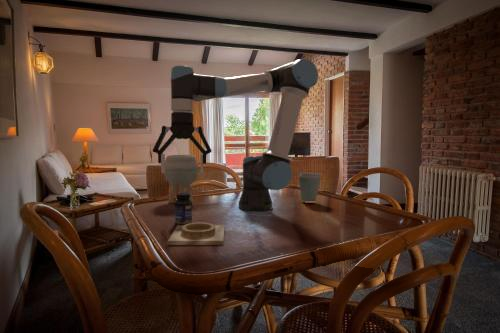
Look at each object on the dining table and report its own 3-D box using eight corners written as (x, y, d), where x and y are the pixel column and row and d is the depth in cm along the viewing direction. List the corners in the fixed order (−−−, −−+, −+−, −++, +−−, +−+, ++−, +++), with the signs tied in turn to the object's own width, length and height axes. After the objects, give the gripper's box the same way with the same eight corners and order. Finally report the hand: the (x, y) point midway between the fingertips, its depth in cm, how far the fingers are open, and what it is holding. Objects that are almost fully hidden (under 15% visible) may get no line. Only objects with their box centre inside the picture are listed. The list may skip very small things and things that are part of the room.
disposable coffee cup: (297, 200, 158) (298, 170, 157) (319, 201, 157) (320, 171, 156) (298, 204, 148) (299, 173, 146) (321, 205, 146) (322, 173, 145)
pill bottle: (187, 227, 109) (187, 195, 108) (171, 225, 110) (171, 194, 109) (194, 222, 115) (194, 192, 114) (179, 221, 116) (178, 191, 115)
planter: (182, 197, 162) (182, 154, 160) (205, 201, 153) (205, 155, 151) (157, 202, 149) (156, 155, 147) (180, 206, 140) (179, 156, 138)
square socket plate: (224, 228, 107) (224, 220, 107) (223, 244, 92) (223, 234, 91) (177, 228, 107) (177, 220, 106) (167, 244, 91) (167, 234, 90)
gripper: (218, 113, 113) (218, 171, 115) (148, 112, 112) (149, 171, 114) (217, 112, 106) (217, 174, 108) (142, 110, 105) (143, 173, 107)
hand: (182, 172), depth 111 cm, fingers open, 13 cm apart
